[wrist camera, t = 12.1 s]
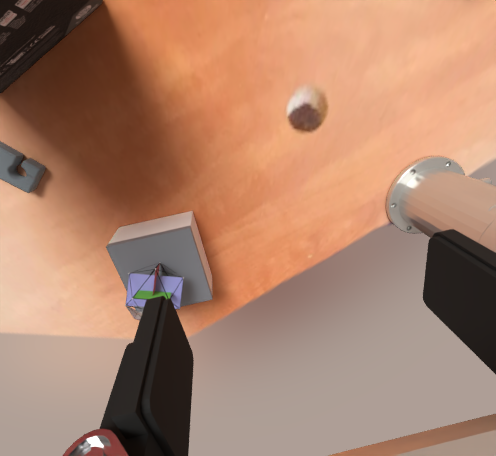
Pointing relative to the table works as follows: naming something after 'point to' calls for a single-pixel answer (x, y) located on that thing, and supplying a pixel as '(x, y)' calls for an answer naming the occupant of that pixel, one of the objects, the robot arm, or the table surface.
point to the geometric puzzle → (152, 289)
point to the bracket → (5, 167)
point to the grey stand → (164, 254)
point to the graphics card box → (35, 31)
